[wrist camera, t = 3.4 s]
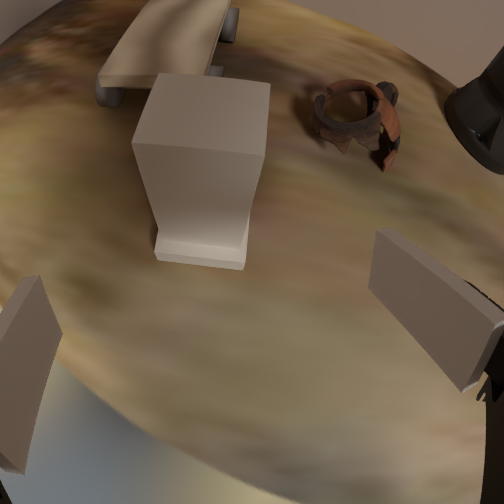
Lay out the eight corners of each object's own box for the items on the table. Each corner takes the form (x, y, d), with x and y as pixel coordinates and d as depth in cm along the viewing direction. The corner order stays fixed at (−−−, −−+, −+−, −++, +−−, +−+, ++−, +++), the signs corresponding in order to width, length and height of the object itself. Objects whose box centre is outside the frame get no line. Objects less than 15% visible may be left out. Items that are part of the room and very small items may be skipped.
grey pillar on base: (249, 195, 29) (280, 74, 16) (242, 270, 27) (275, 176, 13) (172, 186, 28) (155, 62, 15) (157, 259, 26) (114, 160, 13)
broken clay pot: (380, 198, 31) (373, 147, 24) (307, 167, 36) (285, 118, 30) (421, 123, 33) (419, 69, 26) (355, 101, 38) (341, 52, 31)
